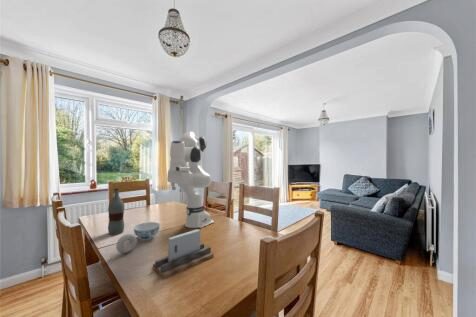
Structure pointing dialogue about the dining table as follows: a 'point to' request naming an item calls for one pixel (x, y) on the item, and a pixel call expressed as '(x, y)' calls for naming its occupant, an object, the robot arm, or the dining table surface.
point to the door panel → (183, 244)
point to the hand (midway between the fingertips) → (177, 190)
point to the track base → (184, 266)
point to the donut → (123, 239)
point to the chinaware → (146, 230)
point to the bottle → (116, 214)
